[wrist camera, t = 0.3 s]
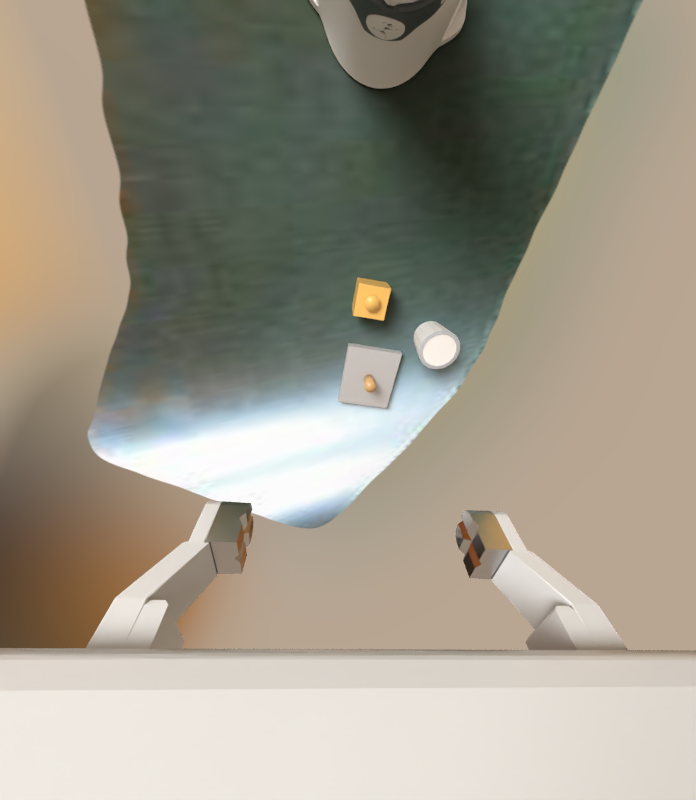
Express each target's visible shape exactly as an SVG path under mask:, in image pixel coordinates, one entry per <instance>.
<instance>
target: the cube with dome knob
mask: <svg viewBox="0 0 696 800" xmlns="http://www.w3.org/2000/svg"><path fill="white" fill-rule="evenodd" d="M390 292H391V288H390V286H389V285H388V284H387V282H381V281H376V280H370V279H365V278H359V277H357V282H356V288H355V293H354V299H353V304H352V311H353V316H358V317H364V318H370V319H376V320H382V321H384V317H385V313H386V309H387V305H388V300H389V296H390Z"/></svg>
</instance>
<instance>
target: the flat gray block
mask: <svg viewBox="0 0 696 800" xmlns="http://www.w3.org/2000/svg"><path fill="white" fill-rule="evenodd" d="M401 356H402V353H401V351H397V350H390V349H384V348H378V347H371V346H365V345H358V344H352V343H348V348H347V353H346V359H345V364H344V369H343V375H342V380H341V386H340V391H339V397H338V402H344V403H352V404H359V405H367V406H374V407H382V408H387V405H388V402H389V398H390V395H391V391H392V388H393V384H394V381H395V377H396V374H397V370H398V367H399V363H400V360H401Z"/></svg>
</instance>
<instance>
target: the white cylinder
mask: <svg viewBox="0 0 696 800" xmlns="http://www.w3.org/2000/svg"><path fill="white" fill-rule="evenodd" d="M414 343H415V346H416V349H417V353H418V356H419V358H420V360H421V362H422V364H423V365H425V366H426V367H428V368H431V369H441V368H445V367H447V366H448V365H450V364H452V363H453V362H454V360H455V359H456V358H457V356H458V354H459V352H460V342H459V340H458V338H457V336H456V335H454V334H453V333H452V332H450V331H449V330H447V329H446V328H445V327H443V326H442V325H440V324H439V323H437V322H433V321H429V322H425V323H423V324H421V325H420V326H419V327H418V328H417V329H416V331H415V334H414Z"/></svg>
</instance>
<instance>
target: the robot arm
mask: <svg viewBox="0 0 696 800" xmlns="http://www.w3.org/2000/svg"><path fill="white" fill-rule="evenodd" d="M309 1H310V3H311V4H312V6H313V7H314V8H315V10H316V11H317V12H318V14H319V15H320V17H321V20H322V22H323V25H324V28H325V31H326V35H327V38H328V41H329V43H330V46H331V48H332V50H333V52H334V54H335V56H336V58H337V60H338V61H339V63H340V64H341V66H342V67H343V68H344V69H345V71H346V72H347V73H348V74H349V75H350V76H351V77H353V78H354V79H355V80H357V81H358V82H360V83H362V84H363V85H366V86H369V87H372V88H378V89H385V88H391V87H395V86H398V85H400V84H402V83H404V82H406V81H407V80H409V79H410V78H411V77H413V76H414V75H415V74H416V73H417V72H418V71H419V70H420V69H421V68H422V67H423V65H424V64H425V63H426V61H427V60H428V59H429V57H430V56H431V55H432V54H433V52H434V51H435V50H436V49H437V48H438V47H440V46H442V45H443V44H445V43H447V42H449V41H450V40H452V39H453V38H454V37H455V36H457V35H458V33H459V32H460V30H461V28H462V26H463V24H464V21H465V16H466V7H467V0H309ZM251 511H252V507H251V503H238V502H221V501H208V502H207V503H206V505H205V506H204V509H203V511H202V513H201V515H200V518H199V519H198V522H197V524H196V526H195V528H194V530H193V533H192V535H191V537H190V540H189V541H188V542H183V543H182V544H181V545H180V546H178V547H177V548H176V549H175V550H173V551H172V552H171V553H170V554H168V555H167V556H166V557H165V558H164V559H162V560H161V561H160V562H159V563H157V564H156V565H155V566H154V567H152V568H151V569H150V570H149V571H148V572H146V573H145V574H144V575H143V576H141V577H140V578H139V579H138V580H136V581H135V582H134V583H133V584H132V585H130V586H129V587H128V588H127V589H125V590H124V591H123V592H122V593H121V594H119V595H118V596H117V597H116V598H115V599H114V601H113V602H112V604H111V606H110V608H109V609H108V611H107V613H106V614H105V616H104V618H103V620H102V621H101V623H100V625H99V627H98V628H97V630H96V632H95V634H94V635H93V637H92V638H91V640H90V642H89V644H88V645H87V647H86V648H83V649H82V648H0V800H696V651H668V650H660V651H658V650H657V651H655V650H652V651H651V650H645V651H644V650H637V651H636V650H628V649H627V648H626V646H625V645H624V643H623V642H622V640H621V639H620V637H619V636H618V634H617V633H616V631H615V630H614V628H613V627H612V625H611V624H610V622H609V621H608V619H607V618H606V616H605V615H604V613H603V612H602V610H601V609H600V607H599V606H598V605H597V604H596V603H595V602H594V601H592V600H591V599H590V598H589V597H588V596H586V595H585V594H584V593H583V592H581V591H580V590H579V589H578V588H576V587H575V586H574V585H573V584H571V583H570V582H569V581H568V580H566V579H565V578H564V577H563V576H562V575H560V574H559V573H558V572H557V571H555V570H554V569H553V568H552V567H550V566H549V565H548V564H547V563H545V562H544V561H543V560H542V559H541V558H539V557H538V556H537V555H536V554H534V553H533V552H532V551H527V549H526V547H525V546H524V544H523V542H522V540H521V539H520V537H519V535H518V534H517V531H516V530H515V528H514V526H513V525H512V523H511V521H510V519H509V517H508V516H507V514H506V513H505V512H497V511H468V510H467V511H464V512H463V514H462V516H461V517H462V519H463V521H462V522H460V523H459V524H458V525H457V528H456V541H457V544H458V547H459V549H460V550H461V551H462V552H463V553H464V554H465V557H464V560H463V561H464V564H465V567H466V570H467V572H468V575H469V577H470V578H479V579H492V581H493V583H494V584H495V585H496V586H497V587H498V588H499V589H500V590H501V592H502V593H503V594H504V595H505V596H506V597H507V598H508V599H509V601H510V602H511V603H512V604H513V605H514V606H515V607H516V609H517V610H518V611H519V612H520V613H521V614H522V615H523V616H524V618H525V619H526V620H527V621H528V622H529V623H530V624H531V626H532V627H533V628H534V629H535V630H534V632H533V633H532V634H531V635H530V636H529V637H528V639H527V641H526V644H527V646H528V649H529V650H405V649H398V650H397V649H396V650H395V649H393V650H392V649H181V648H182V645H183V642H184V640H183V637H182V635H181V633H180V630H179V628H178V626H177V623H176V622H177V620H178V619H179V618H180V617H181V616H182V615H183V614H184V613H185V611H186V610H187V609H188V608H189V607H190V606H191V604H192V603H193V602H194V601H195V600H196V599H197V598H198V597H199V595H200V594H201V593H202V592H203V591H204V590H205V588H206V587H207V586H208V585H209V584H210V583H211V582H212V581H213V579H214V578H215V577H216V576H217V574H221V573H222V574H225V573H226V574H228V573H229V574H230V573H231V574H233V573H242V571H243V567H244V564H245V560H246V556H247V553H246V547H247V546H248V545H249V544H250V541H251V537H252V532H253V517H252V516H251V515H250V514H251Z"/></svg>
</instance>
